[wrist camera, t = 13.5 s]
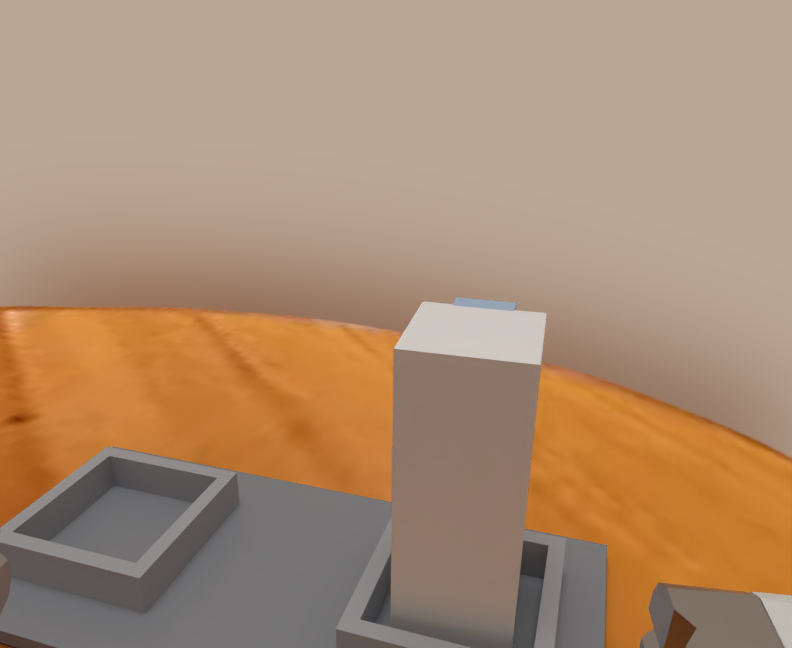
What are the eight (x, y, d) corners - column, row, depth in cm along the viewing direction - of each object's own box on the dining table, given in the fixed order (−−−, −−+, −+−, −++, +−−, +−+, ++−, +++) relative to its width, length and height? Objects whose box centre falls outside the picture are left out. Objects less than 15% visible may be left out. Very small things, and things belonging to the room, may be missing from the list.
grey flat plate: (-87, 615, 25) (-102, 567, 24) (114, 456, 34) (108, 418, 33) (598, 826, 18) (608, 771, 17) (605, 557, 28) (612, 512, 27)
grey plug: (390, 647, 23) (393, 348, 19) (418, 554, 27) (427, 294, 23) (509, 672, 22) (540, 364, 18) (520, 572, 26) (547, 305, 22)
